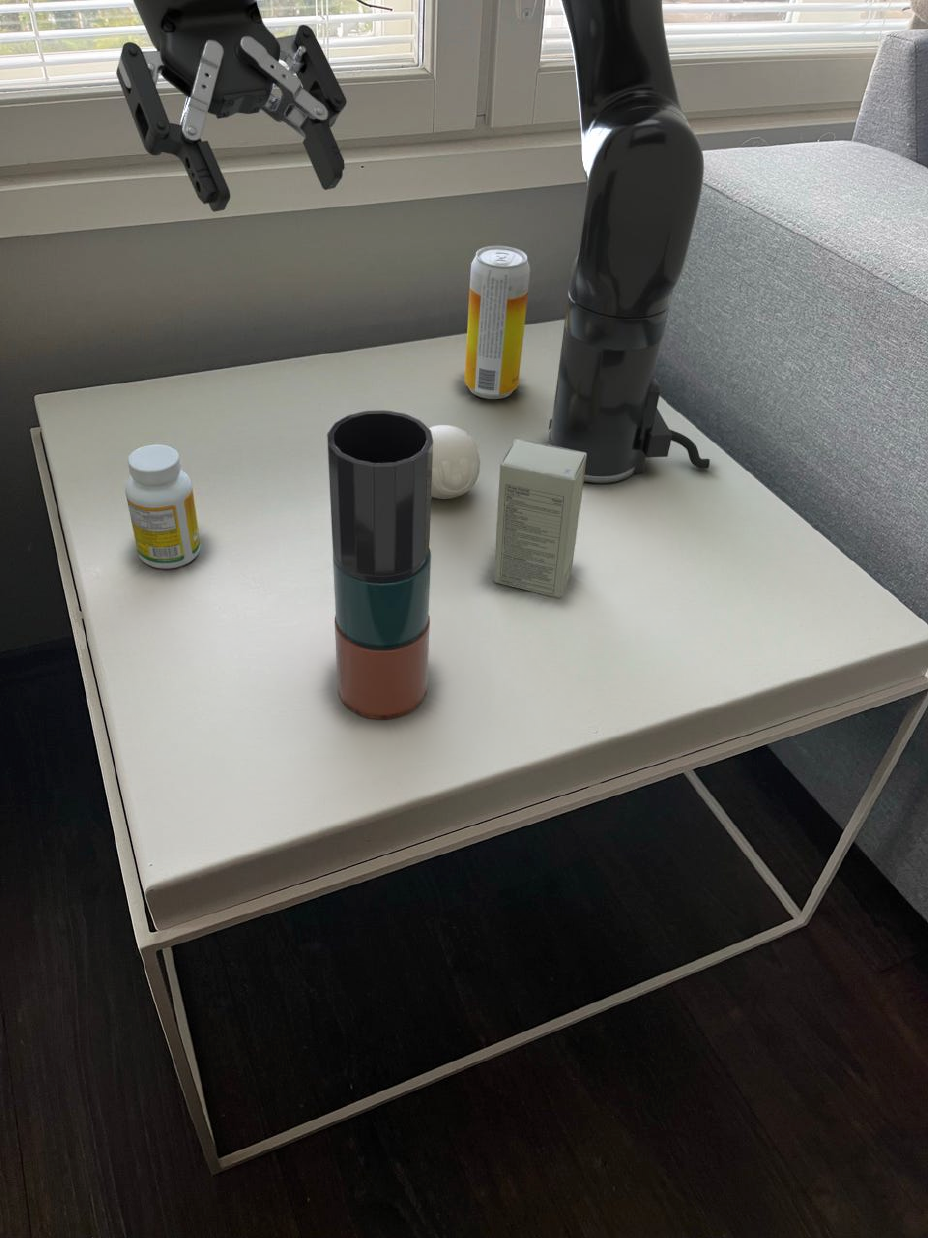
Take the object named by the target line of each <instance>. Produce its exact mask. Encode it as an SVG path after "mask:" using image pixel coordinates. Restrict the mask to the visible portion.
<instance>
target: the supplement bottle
mask: <svg viewBox="0 0 928 1238" xmlns="http://www.w3.org/2000/svg"><path fill="white" fill-rule="evenodd" d="M127 464H128V469H129V474H130V476H129V477H128V479H127V481H126V483H125V487H124V491H125V493H124V494H125V498H126V502H127V508H128V512H129V516H130V517H129V518H130V521H131V526H132V530H133V531H132V532H133V535H134V541H135V545H136V550H137V555H138V556H139V558H140V560H141V561H142V562H143V563H145V564H146V565H148V566H150V567H153V568H156V569H163V570H164V569H166V570H167V569H168V570H169V569H176V568H179V567H183V566H185V565H187V564H189V563H190V562H192V561H194V559H195V558H196V557H197V556H198V554H199V553H200V550H201V546H202V543H201V537H200V530H199V524H198V518H197V517H198V516H197V510H196V502H195V496H194V490H193V483H192V481H191V478H190V476H189V475H188V474H187V473H186V472H185V471H184V470H182V463H181V460H180V454H179V453H178V451H177V450H176V449H175V448H173V447H171V446H169V445H165V444H148V445H144V446H141V447H139V448H138V447H137V448H136V449H135V450H133V451H132V452H131V453H130V454H129V456H128V458H127Z"/></svg>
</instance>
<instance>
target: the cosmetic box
mask: <svg viewBox="0 0 928 1238" xmlns="http://www.w3.org/2000/svg"><path fill="white" fill-rule="evenodd" d="M586 456H587V454H586V453H585V452H580V451H576V450H571V449H566V448H562V447H556V446H552V445H548V443H542V442H536V441H532V440H526V439H520V438H515V439H514V441H513V442H512V444H511V445H510V447H508V449H507V451H506V452H505V455H504V456H503V458H502V459H501V461H500V463H499V478H498V493H497V494H498V495H497V512H496V529H495V546H494V560H493V561H494V562H493V564H494V565H493V577H492V580H493V582H494V583H495V584H500V585H504V586H508V587H510V588H516V589H519V590H524V591H527V592H528V591H529V592H533V593H537V594H543V595H546V596H550V597H555V598H561V597H562V595H563V593H564V591H565V589H566V587H567V584H568V582H569V580H570V577H571V574H572V571H573V567H574V566H573V564H574V557H575V549H576V544H577V543H576V541H577V534H578V526H579V520H580V519H579V518H580V511H581V503H582V495H583V489H584V488H583V487H584V482H585V481H584V473H585V465H586Z"/></svg>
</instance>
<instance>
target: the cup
mask: <svg viewBox="0 0 928 1238" xmlns="http://www.w3.org/2000/svg"><path fill="white" fill-rule="evenodd" d="M429 428H430V427H428V426H427V425H426V424H425V423H424V421H422V420H421V419H418V418H416V417H414V416H412V415H409V414H407V413H405V412H398V411H393V410H387V409H383V410H382V409H381V410H364V411H360V412H356V413H352V414H348V415H346V416H344V417H342V418H340V419H339V420H338V421H336V422H334V423H333V424H332V426H331V427H330V429H329V430H328V432H327V433H326V438H327V439H326V441H327V460H328V479H329V481H328V483H329V503H330V523H331V542H332V543H331V544H332V558H333V557H334V560H335V562H336V564H337V565H338V567H339V568H340V569H341V570H342V571H344V572H345V573H346V574H348V575H350V576H352V577H354V578H356V579H359V580H363V581H367V582H375V583H387V582H394V581H399V580H403V579H405V578H408V577H410V576H412V575H414V574H415V573H417V572H418V571H419V570H420V569H421V568H422V567H423V566H424V565H425V563H426V561H427V558H428V551H429V548H430V545H431V544H430V540H431V516H432V515H431V511H432V497H431V490H432V463H433V438H432V433H431V430H430V429H429Z"/></svg>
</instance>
